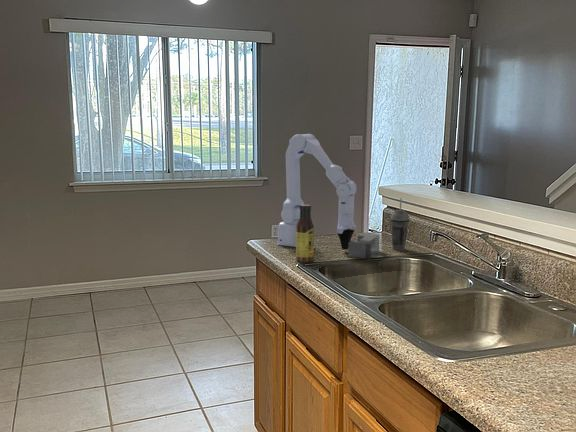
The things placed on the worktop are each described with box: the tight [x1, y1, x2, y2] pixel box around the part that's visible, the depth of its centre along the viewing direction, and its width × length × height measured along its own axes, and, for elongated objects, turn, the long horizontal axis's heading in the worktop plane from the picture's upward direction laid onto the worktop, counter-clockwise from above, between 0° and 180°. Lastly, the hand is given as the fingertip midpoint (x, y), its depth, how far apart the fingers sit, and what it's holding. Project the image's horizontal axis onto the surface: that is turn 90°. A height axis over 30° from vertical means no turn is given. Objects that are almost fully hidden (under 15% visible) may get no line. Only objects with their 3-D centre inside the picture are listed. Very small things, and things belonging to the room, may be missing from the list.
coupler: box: [347, 233, 381, 260], centre depth 207 cm, size 8×13×6 cm, turn 156°
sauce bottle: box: [295, 204, 315, 263], centre depth 195 cm, size 7×6×20 cm
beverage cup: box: [389, 198, 410, 252], centre depth 214 cm, size 7×7×20 cm
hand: (345, 248), depth 210 cm, fingers closed
